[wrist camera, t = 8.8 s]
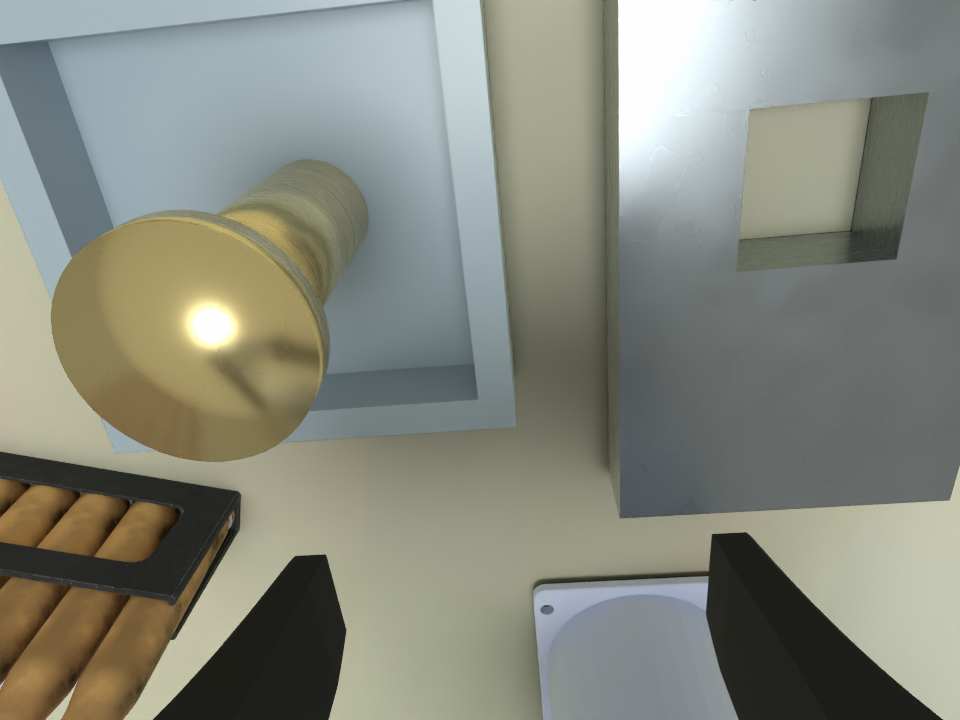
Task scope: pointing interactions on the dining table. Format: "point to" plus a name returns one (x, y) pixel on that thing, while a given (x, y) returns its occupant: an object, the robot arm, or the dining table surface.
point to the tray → (269, 146)
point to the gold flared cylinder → (212, 314)
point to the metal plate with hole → (780, 261)
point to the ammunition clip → (97, 581)
